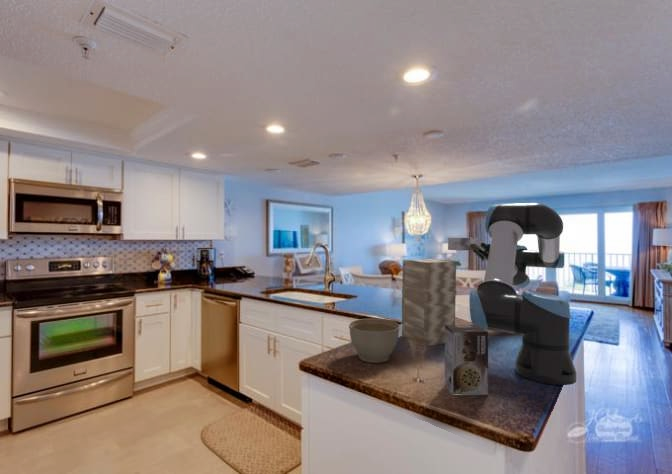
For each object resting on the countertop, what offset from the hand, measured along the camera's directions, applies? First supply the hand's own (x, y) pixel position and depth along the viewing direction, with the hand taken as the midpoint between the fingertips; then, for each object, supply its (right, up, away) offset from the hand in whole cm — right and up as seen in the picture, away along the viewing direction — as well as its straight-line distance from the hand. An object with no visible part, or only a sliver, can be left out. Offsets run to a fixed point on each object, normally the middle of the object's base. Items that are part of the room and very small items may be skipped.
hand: (472, 240), depth 144 cm
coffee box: (-24, -38, -55) cm, 71 cm away
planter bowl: (-45, -38, -33) cm, 67 cm away
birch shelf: (-21, -38, -10) cm, 44 cm away
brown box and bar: (-1, -4, 0) cm, 4 cm away
